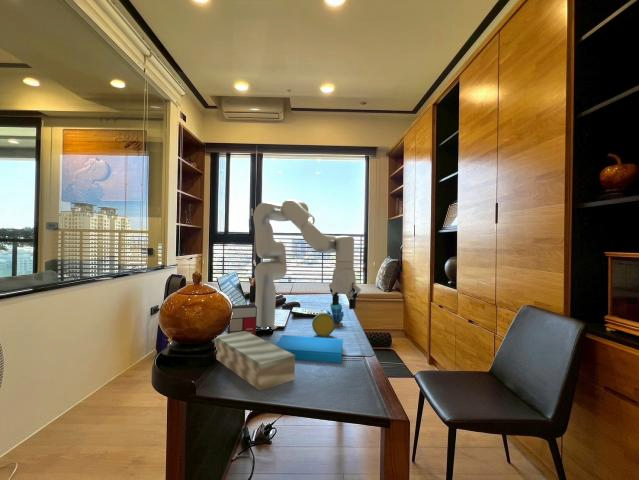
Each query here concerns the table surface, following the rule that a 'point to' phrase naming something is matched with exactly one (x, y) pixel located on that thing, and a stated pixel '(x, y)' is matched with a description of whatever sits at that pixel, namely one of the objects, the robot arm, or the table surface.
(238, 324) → the gray red box
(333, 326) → the decorative artifact
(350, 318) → the table surface
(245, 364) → the striped cream block
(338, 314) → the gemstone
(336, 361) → the book
